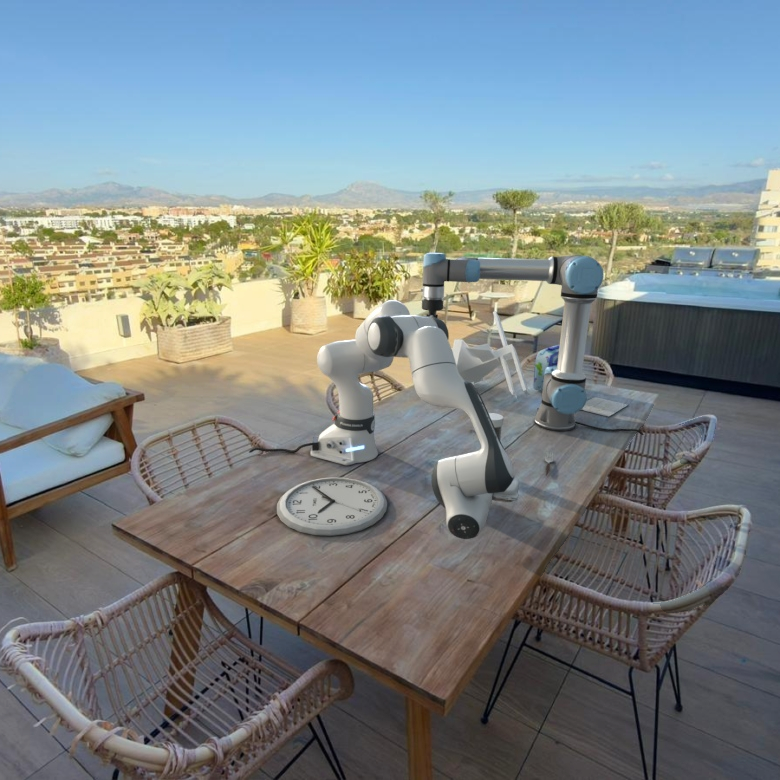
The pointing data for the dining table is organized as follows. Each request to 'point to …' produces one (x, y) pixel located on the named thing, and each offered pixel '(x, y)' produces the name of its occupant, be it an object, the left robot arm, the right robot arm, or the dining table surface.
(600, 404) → the invitation card
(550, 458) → the fork
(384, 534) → the dining table surface
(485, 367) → the white plastic object
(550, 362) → the lunch box
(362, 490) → the wall clock
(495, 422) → the lid
